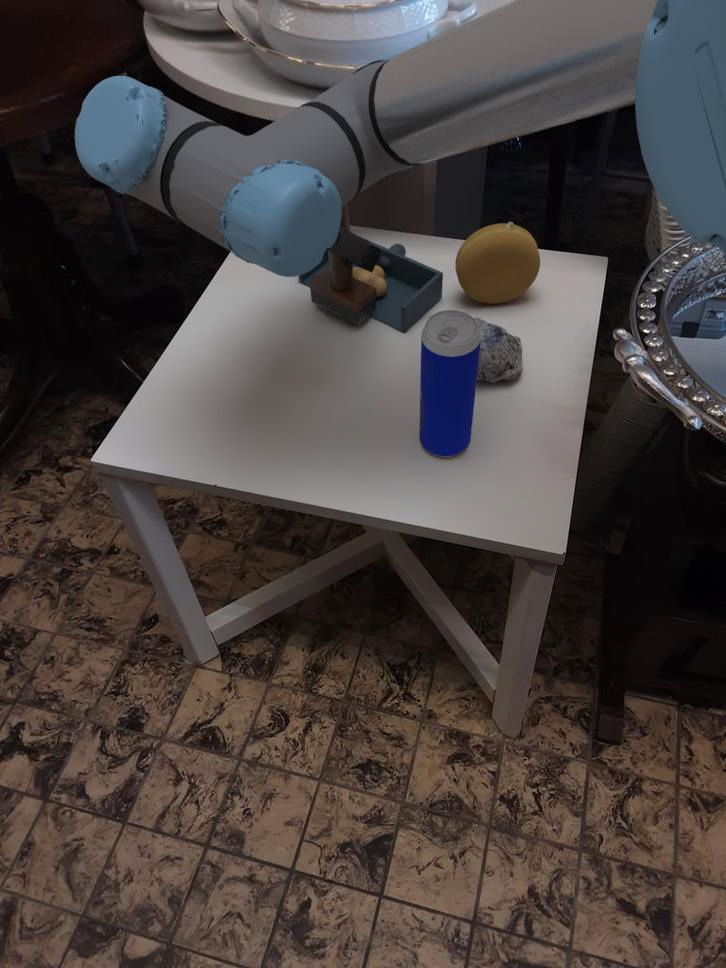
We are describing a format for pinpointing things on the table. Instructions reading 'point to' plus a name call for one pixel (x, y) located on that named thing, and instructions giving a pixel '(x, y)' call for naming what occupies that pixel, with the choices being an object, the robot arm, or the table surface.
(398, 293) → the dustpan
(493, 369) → the mineral specimen
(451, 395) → the beverage can
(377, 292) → the tan lobed cluster
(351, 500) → the table surface
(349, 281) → the brush
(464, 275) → the tan flat oval
